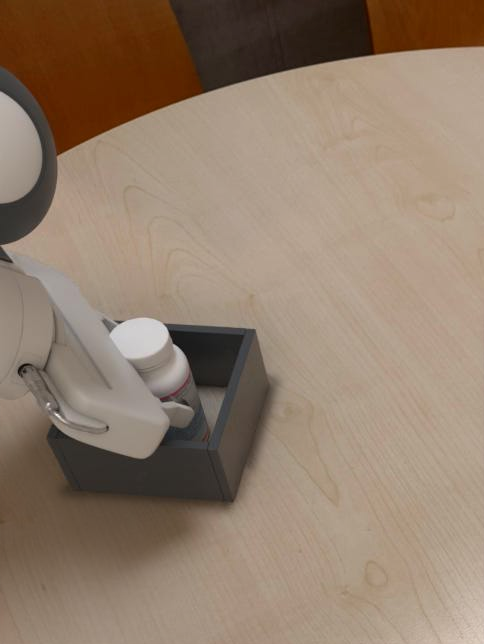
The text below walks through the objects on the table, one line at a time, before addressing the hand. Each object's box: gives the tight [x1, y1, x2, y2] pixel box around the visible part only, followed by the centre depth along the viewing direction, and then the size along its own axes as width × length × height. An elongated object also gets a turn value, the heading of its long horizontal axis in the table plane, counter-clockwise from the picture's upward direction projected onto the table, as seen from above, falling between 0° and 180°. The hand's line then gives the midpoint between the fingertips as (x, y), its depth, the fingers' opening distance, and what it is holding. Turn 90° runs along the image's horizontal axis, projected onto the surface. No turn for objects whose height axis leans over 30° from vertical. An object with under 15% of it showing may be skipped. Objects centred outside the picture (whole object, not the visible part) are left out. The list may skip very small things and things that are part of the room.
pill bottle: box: [109, 317, 210, 442], centre depth 86 cm, size 6×6×11 cm
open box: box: [45, 319, 270, 503], centre depth 88 cm, size 14×14×8 cm
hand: (162, 379), depth 86 cm, fingers open, 8 cm apart
